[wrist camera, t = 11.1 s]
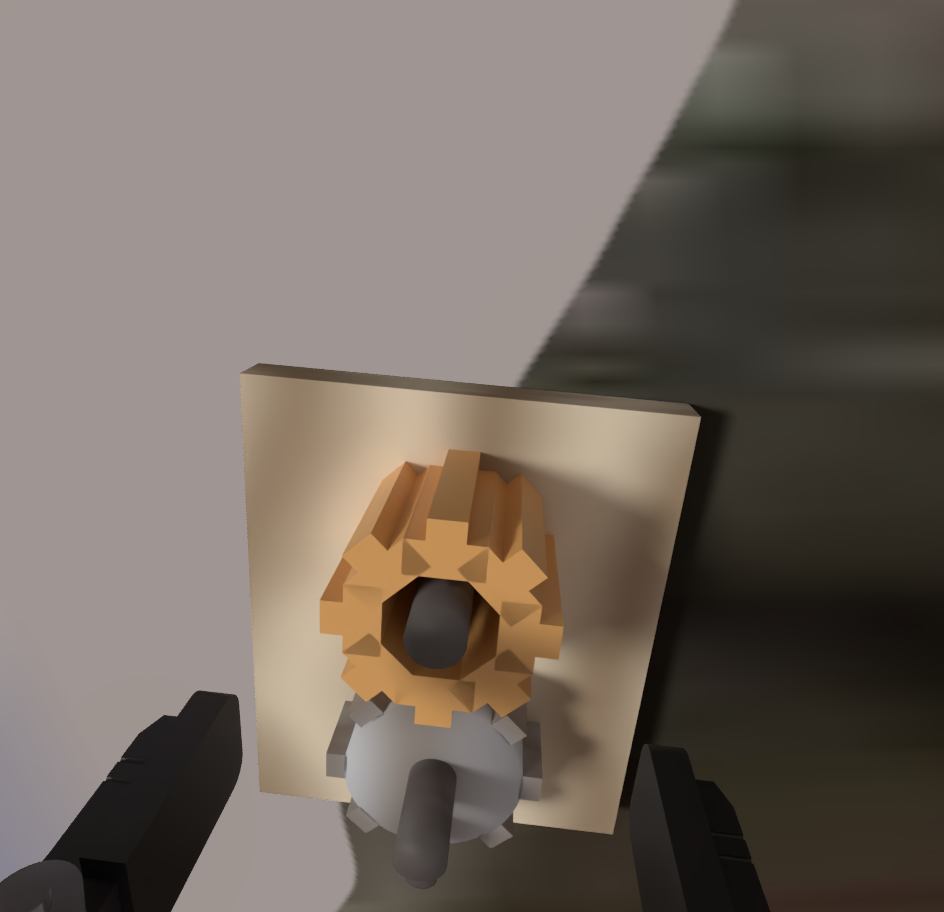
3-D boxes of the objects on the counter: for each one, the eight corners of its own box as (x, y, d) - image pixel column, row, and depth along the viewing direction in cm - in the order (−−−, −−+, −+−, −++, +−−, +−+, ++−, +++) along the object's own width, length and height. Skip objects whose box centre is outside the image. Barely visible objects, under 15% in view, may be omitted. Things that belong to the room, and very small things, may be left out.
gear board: (688, 403, 20) (768, 488, 14) (607, 801, 26) (637, 994, 20) (258, 363, 21) (139, 426, 14) (273, 762, 27) (193, 935, 20)
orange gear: (564, 460, 20) (577, 534, 15) (540, 629, 22) (546, 739, 17) (366, 440, 20) (319, 507, 15) (362, 609, 22) (320, 712, 17)
